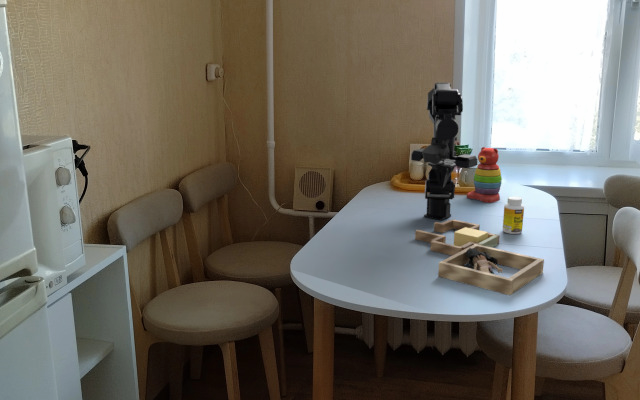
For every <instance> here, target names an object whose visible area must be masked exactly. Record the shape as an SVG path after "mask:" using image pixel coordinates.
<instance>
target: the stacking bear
mask: <svg viewBox="0 0 640 400" xmlns="http://www.w3.org/2000/svg"><path fill="white" fill-rule="evenodd" d="M498 152H499V151H498V149H497V148H493V147H485V146H483V147H481V148H480V151H479V153H478V155H477V161H478V163H479V164H477V165H476V166H477V167H476V169H475V172H474V176H473V185H474V190H471V191H470V192H467V194H466V198H467V199H470V200H478V201H481V202H482V203H485V204H490V203H491V204H492V203H496V202H498V201H499V200H500V199H501V196H500V190H501V186H502V180H503V179H502V178H503V177H502V172H501V168H500V166H499V165H498V164H497V163H498V161H499V153H498Z"/></svg>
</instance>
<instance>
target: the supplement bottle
mask: <svg viewBox="0 0 640 400" xmlns="http://www.w3.org/2000/svg"><path fill="white" fill-rule="evenodd" d="M522 203H523V198H522V197H519V196H509V197H507V200H506V203H505V204H504V206H503V217H502V218H503V219H502V231H503V232H504V233H506V234H509V235H518V234H521V233H522V232H523V227H524V224H523V223H524V214H525V206H524V204H522Z"/></svg>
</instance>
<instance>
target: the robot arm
mask: <svg viewBox="0 0 640 400" xmlns="http://www.w3.org/2000/svg"><path fill="white" fill-rule="evenodd" d="M433 84H434V85H433V88H432V89H430V91H429V92H427V98H426V99H427V100H426V111H428V118H429V119H430V121H431V123H432V124H433V129H432V130H433V133H432V134H433V135H432V136H433V137H431V142H430V145H428V146H427V147H425V148H419V149H418V148H417V149H414V150H413V151H412V152H411V154H410V160H411V161H415V162H422V161H421V160H423V162H424V163H427V165H428V166H430V167H431V168H430V170H429V172H428V175H427V179H425V185H424V199H425V200H426V214H423V217H425V218H429V219H434V220H440V221H441V220H442V221H443V220H445V219H447V218H450V217H452V214H451V203H450V200H453V199H455V191H456V184H455V183H454V180H453V179H452V173H453V172H454V170H455V168H456V167H457V168H462V169H470V168H473V167H476V166H478V157H477V156H476V155H473V154H466V153H464V154H461V155H458V156H456V155H457V151H456V150H455V142H456V141H457V142H458V137H457V135H458V133H459V125H458V123H457V121H456V116H461V115H462V113H463V110H464V106H463V104H464V103H463V97H462V94H461V93H459V90H458V89H456V88H452V83H449V82H435V83H433Z"/></svg>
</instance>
